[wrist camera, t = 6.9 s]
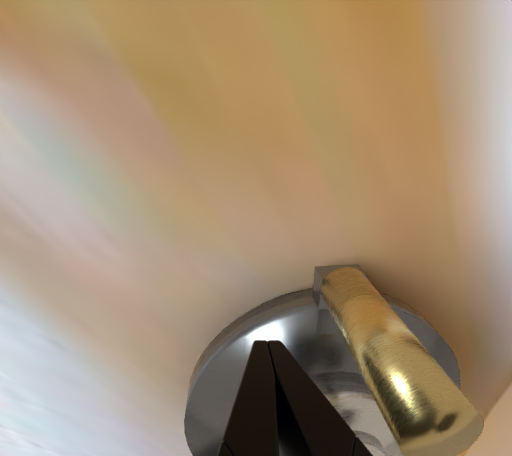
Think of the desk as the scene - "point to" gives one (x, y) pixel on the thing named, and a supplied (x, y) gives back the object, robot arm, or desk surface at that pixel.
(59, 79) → the desk surface
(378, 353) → the turntable
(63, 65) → the desk surface
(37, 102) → the desk surface
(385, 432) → the cover
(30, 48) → the desk surface
